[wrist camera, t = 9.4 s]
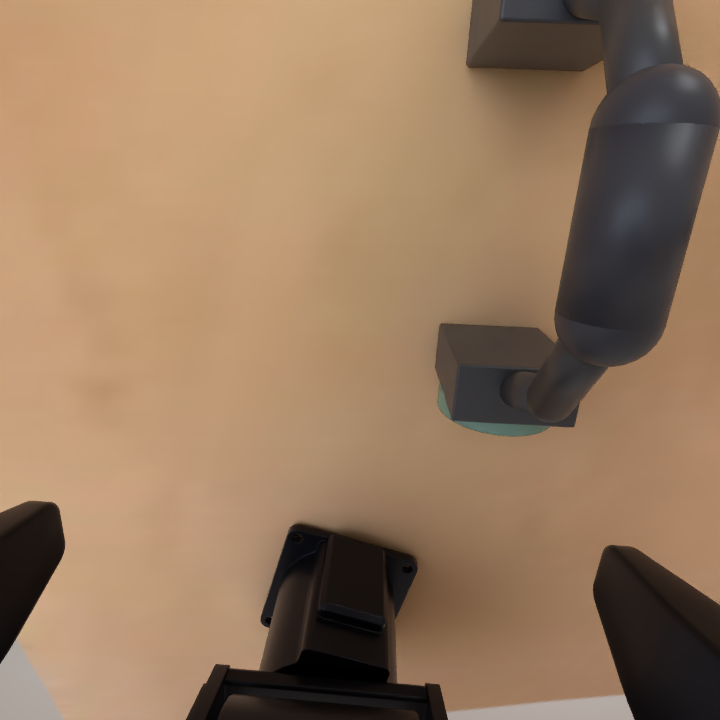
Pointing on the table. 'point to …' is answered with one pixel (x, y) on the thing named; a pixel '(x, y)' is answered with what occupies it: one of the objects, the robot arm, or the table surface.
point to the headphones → (592, 209)
